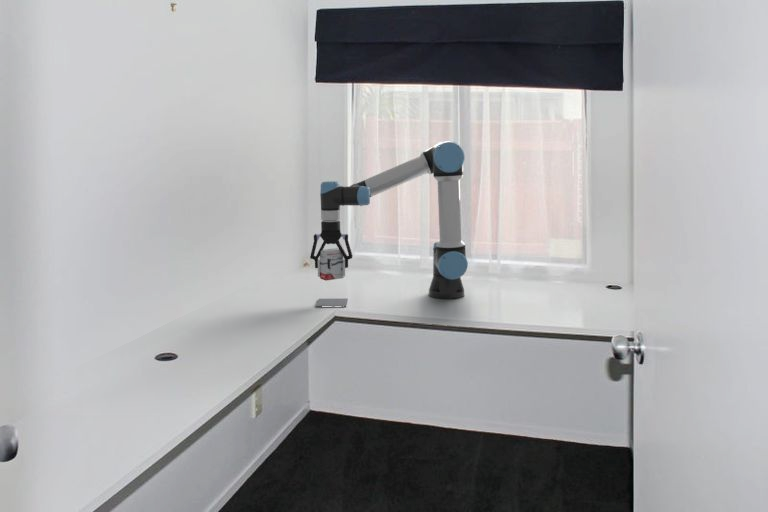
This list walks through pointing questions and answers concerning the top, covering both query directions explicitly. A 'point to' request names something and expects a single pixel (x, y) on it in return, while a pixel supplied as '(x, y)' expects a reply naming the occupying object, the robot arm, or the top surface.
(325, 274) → the ink box
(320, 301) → the slate coaster
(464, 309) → the top surface
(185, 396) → the top surface
